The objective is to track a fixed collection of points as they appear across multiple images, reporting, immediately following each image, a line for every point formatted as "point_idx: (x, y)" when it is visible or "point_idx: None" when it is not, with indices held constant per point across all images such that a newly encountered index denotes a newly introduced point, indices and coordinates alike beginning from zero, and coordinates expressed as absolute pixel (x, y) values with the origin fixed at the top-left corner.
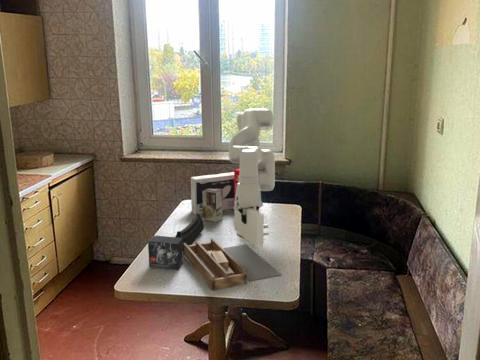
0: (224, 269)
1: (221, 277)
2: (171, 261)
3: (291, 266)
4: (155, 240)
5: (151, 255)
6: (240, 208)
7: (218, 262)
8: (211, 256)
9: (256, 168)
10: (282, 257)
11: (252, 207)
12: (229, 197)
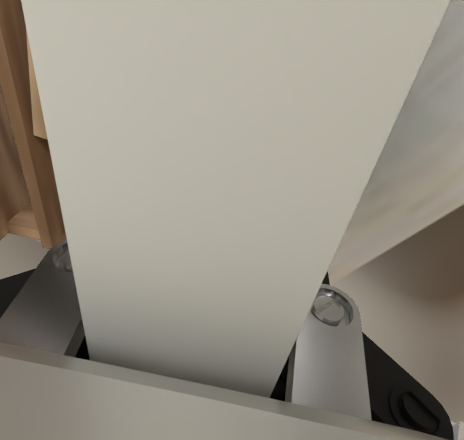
0: (45, 219)
1: (35, 230)
2: None
3: (388, 232)
4: None
5: None
6: (7, 311)
7: (39, 131)
8: (3, 54)
9: None
10: (452, 142)
11: (314, 387)
12: None
